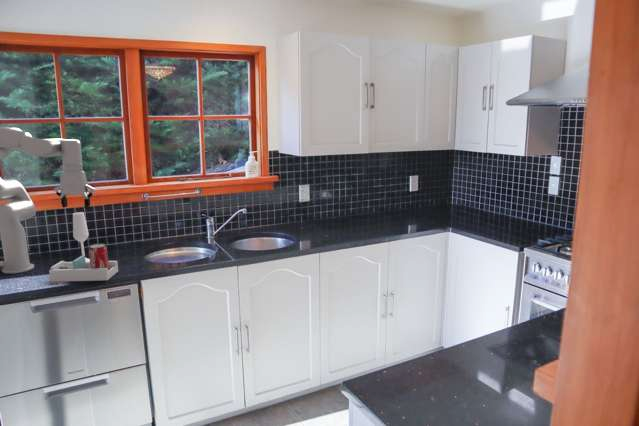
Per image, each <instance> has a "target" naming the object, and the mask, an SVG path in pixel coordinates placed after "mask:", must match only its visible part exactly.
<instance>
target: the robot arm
mask: <svg viewBox="0 0 639 426" xmlns="http://www.w3.org/2000/svg"><path fill="white" fill-rule="evenodd" d="M15 151H21V152H23V153H24V154H27V155H29V156H30V155H31V156H35V157H41V158H49V157H50V158H51V157H59V156H61V158H62V160H61V161H62V164H61V165H59V169H62V171H61V172H60V177H59V178H60V180H59V181H60V182H59V183H60V184H59V185H57V186H56V187H53V190H54V192H55V193H56V195H57V196H58V197H59V199H61V201H60V202H61V206H62V208H67V207H68V198H67V196H81V195H82V196H83V197H84V199H83V201H84V208H85V209H87V208H90V206H91V198H92V196H93V195H94V194H95V191H96V188H95V187H92V186H91V185H89V184H88V180H87V175H86V172H85V171H84V170H83V169H84V168H83V155H82V144H81V141H80V140H79V139H71V138H69V139H67V138H66V139H65V138H58V137H57V138H37V137H33V136H32V134H31V133H30V132H28V131H24V130H22V129H20V127H16V126H1V127H0V160H3V159H6V158H8V157H9V156H10V155H11V154H12V153H14V152H15ZM89 191H90V192H89ZM6 201H7V202H6ZM1 202H5V203H1ZM0 203H1V204H0V239H1V240H0V241H1V246H2V252H3V253H2V254H3V260H4V261H3V260H1V261H0V267H2V268H1V272H2V274H7V275H9V274H10V275H13V274H21V273H24V272H29V271H31V270H33V269H34V268H35V264H34V263H31V262H30V256H29V248H28V242H27V235H26V230H25V228H24V226H23V225H22V223H21V222H23V221H25V220H29V219H31V218H33V217H34V216H35V214H36V212H37V211H36V210H37V209H36V206H35V204H34V201H33V200H32V198H31V196H30V194H29V193H28V192H27V190H26V188H25V186H24V185H23V184H22V183H21V182H19V181H18V180H17V179H14V178H7V179H3V178H2V176H0Z"/></svg>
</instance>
